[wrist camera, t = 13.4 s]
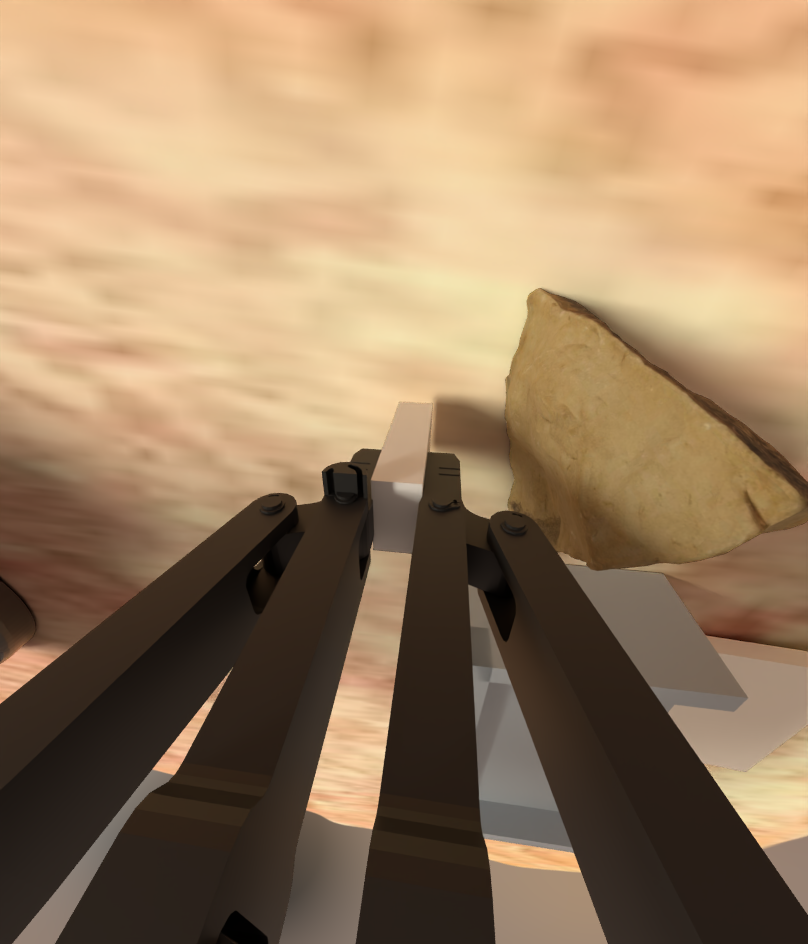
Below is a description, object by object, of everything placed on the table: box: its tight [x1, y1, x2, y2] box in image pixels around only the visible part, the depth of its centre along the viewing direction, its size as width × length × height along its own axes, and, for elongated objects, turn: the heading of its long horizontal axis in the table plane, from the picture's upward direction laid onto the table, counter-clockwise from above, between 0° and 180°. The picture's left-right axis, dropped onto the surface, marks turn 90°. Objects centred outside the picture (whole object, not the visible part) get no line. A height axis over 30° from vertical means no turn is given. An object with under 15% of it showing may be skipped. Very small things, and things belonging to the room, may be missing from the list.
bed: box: [468, 564, 748, 853], centre depth 25 cm, size 12×24×7 cm, turn 179°
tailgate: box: [668, 636, 808, 772], centre depth 26 cm, size 1×14×11 cm
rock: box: [505, 288, 808, 571], centre depth 14 cm, size 11×9×10 cm
